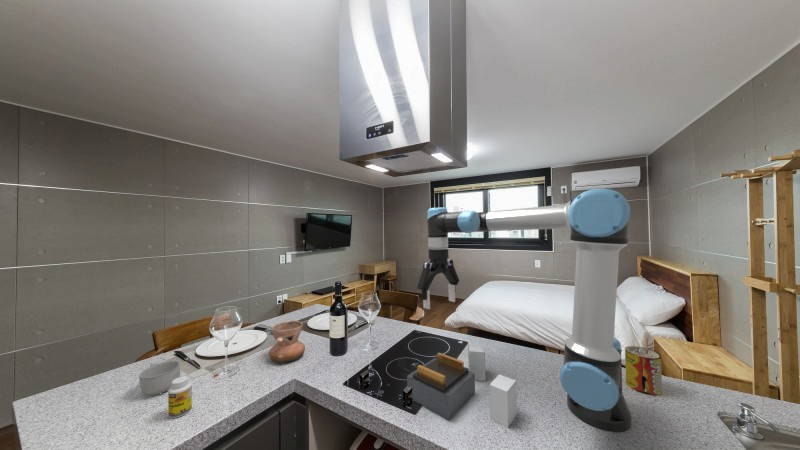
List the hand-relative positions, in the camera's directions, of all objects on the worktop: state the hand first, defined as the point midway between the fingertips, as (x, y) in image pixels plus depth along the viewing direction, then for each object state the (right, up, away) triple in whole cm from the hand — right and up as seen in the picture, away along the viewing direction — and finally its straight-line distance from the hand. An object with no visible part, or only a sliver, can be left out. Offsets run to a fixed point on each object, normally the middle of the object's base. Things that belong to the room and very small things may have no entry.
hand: (439, 304), depth 99 cm
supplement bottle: (-83, -28, -18) cm, 90 cm away
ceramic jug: (-65, -28, +17) cm, 72 cm away
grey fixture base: (-1, -26, -12) cm, 29 cm away
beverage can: (+68, -25, -10) cm, 73 cm away
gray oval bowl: (-101, -29, -5) cm, 105 cm away
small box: (+14, -27, 0) cm, 30 cm away
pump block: (+15, -26, -22) cm, 38 cm away
